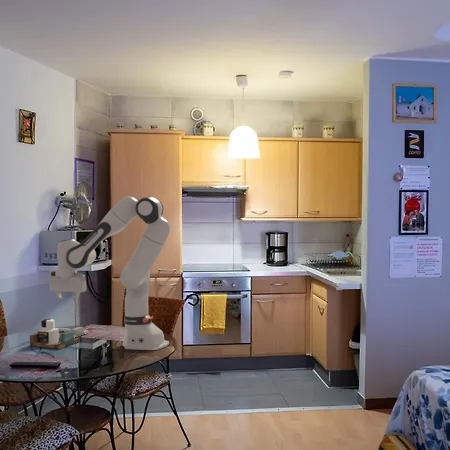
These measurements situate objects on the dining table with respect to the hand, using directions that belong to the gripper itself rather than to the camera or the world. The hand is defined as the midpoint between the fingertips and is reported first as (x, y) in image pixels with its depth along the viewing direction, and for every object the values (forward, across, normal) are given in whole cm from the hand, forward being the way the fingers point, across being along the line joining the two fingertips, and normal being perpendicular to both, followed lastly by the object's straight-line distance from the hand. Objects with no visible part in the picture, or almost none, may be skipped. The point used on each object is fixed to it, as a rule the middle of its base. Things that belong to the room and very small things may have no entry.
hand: (68, 300), depth 230 cm
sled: (+21, +8, +2) cm, 23 cm away
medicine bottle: (+22, +11, +2) cm, 24 cm away
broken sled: (+21, +15, -14) cm, 30 cm away
